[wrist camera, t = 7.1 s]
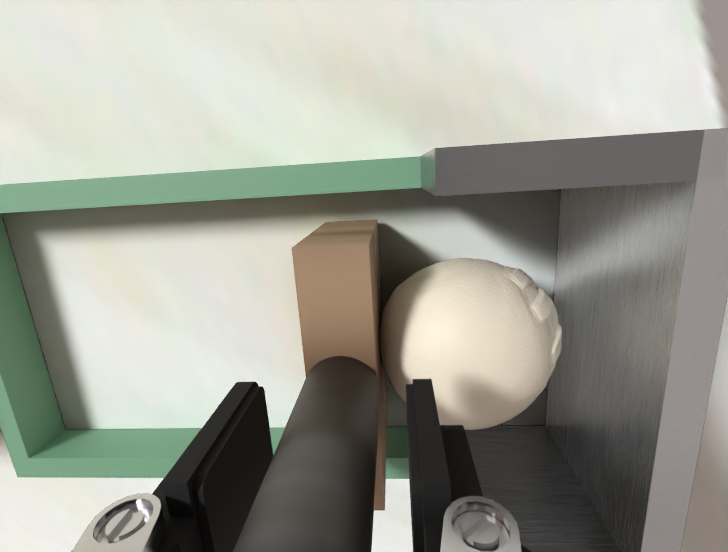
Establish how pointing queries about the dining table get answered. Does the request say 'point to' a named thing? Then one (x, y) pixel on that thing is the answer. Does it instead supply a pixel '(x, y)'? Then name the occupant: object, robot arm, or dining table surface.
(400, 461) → the frame
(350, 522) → the striker
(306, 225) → the dining table surface
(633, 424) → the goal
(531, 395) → the cream round ball
